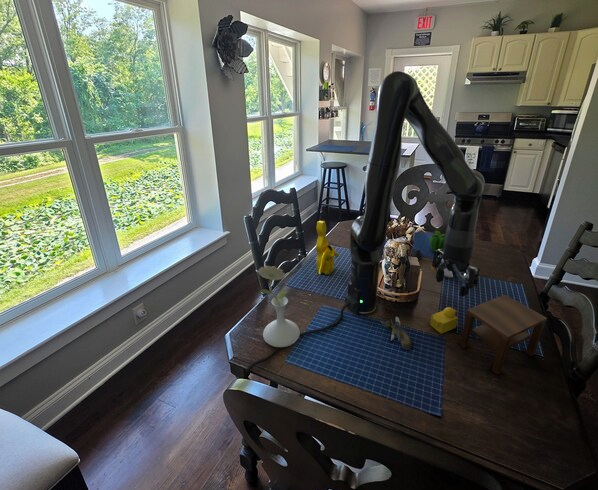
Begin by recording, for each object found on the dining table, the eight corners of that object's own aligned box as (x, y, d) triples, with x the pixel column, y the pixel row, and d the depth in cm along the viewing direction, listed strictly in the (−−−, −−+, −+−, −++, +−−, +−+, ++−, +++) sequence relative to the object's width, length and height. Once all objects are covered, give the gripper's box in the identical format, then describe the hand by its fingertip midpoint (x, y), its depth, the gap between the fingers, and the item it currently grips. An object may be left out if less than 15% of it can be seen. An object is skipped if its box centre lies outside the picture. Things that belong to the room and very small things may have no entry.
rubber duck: (439, 334, 100) (442, 318, 97) (428, 325, 104) (430, 309, 101) (458, 326, 103) (462, 310, 100) (447, 318, 107) (450, 302, 104)
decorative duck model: (466, 252, 134) (485, 270, 120) (461, 268, 137) (479, 287, 123) (431, 250, 134) (445, 267, 120) (427, 265, 137) (441, 284, 123)
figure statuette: (323, 282, 127) (324, 232, 119) (306, 277, 131) (306, 228, 123) (342, 263, 141) (344, 217, 133) (326, 258, 145) (327, 213, 136)
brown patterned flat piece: (381, 241, 160) (381, 232, 158) (424, 255, 146) (425, 246, 144) (364, 252, 150) (364, 243, 148) (408, 268, 136) (410, 259, 134)
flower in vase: (306, 332, 102) (305, 264, 92) (287, 356, 93) (283, 283, 83) (272, 319, 108) (268, 253, 98) (251, 340, 99) (244, 271, 89)
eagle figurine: (375, 333, 99) (396, 347, 91) (384, 311, 100) (405, 324, 92) (391, 337, 103) (413, 352, 95) (400, 317, 103) (422, 329, 95)
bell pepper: (449, 249, 150) (452, 230, 147) (446, 257, 144) (449, 237, 140) (430, 245, 155) (433, 226, 151) (426, 252, 148) (429, 233, 144)
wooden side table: (496, 374, 86) (508, 336, 80) (459, 344, 96) (467, 309, 91) (534, 354, 92) (547, 318, 87) (495, 328, 102) (504, 294, 97)
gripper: (430, 234, 96) (424, 280, 103) (472, 254, 84) (462, 304, 91) (448, 229, 99) (441, 274, 106) (491, 247, 87) (480, 297, 94)
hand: (450, 288), depth 98 cm, fingers open, 8 cm apart
